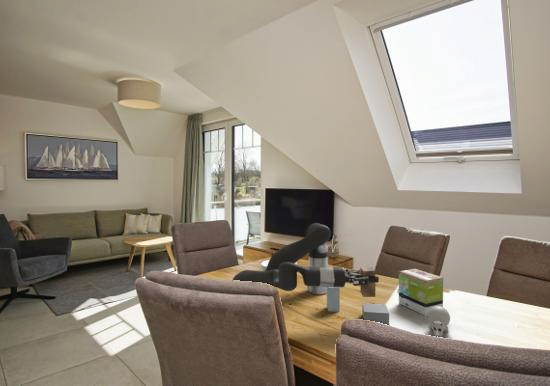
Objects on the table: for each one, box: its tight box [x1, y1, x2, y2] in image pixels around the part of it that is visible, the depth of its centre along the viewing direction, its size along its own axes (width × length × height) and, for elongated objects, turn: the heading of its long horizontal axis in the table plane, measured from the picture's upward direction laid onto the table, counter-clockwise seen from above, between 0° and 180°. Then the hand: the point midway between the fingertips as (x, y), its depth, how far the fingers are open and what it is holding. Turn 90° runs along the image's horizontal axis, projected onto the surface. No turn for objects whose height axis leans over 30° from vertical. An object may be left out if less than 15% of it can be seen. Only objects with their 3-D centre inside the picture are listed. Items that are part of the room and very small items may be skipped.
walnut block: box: [359, 266, 376, 298], centre depth 124 cm, size 4×4×10 cm
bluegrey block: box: [326, 287, 341, 312], centre depth 138 cm, size 4×4×10 cm
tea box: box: [398, 268, 444, 317], centre depth 138 cm, size 15×10×15 cm, turn 23°
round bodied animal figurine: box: [427, 306, 451, 338], centre depth 116 cm, size 7×12×8 cm, turn 148°
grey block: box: [361, 302, 390, 326], centre depth 127 cm, size 9×9×5 cm
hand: (375, 277), depth 124 cm, fingers closed on walnut block, 4 cm apart
